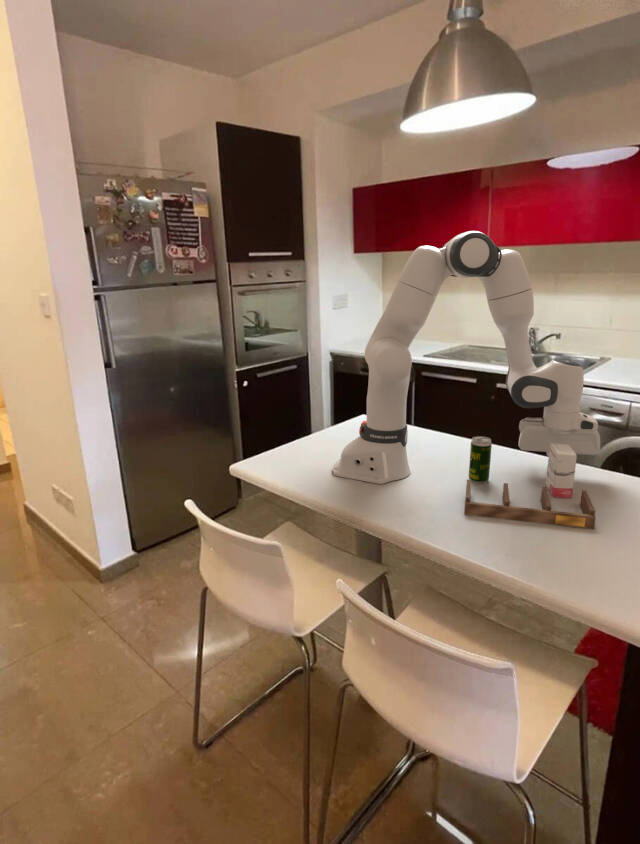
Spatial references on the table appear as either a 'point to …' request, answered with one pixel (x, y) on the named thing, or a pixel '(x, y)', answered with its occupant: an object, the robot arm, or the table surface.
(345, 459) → the robot arm
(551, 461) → the ink box
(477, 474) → the beer can
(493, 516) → the rack
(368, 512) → the table surface
